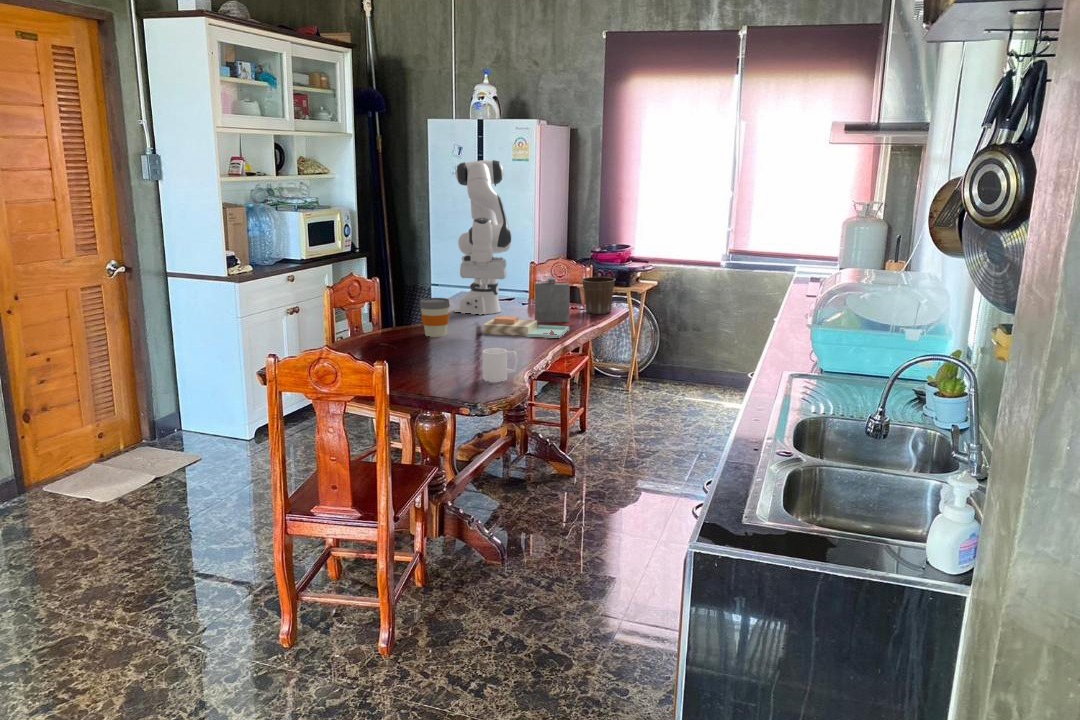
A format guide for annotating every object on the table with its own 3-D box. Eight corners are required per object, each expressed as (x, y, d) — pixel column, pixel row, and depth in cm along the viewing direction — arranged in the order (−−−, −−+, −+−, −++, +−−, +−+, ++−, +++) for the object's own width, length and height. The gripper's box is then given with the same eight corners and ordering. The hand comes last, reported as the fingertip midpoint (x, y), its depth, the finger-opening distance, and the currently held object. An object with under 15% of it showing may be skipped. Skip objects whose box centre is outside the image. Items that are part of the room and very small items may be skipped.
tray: (526, 337, 343) (526, 333, 343) (538, 328, 360) (538, 324, 360) (559, 339, 340) (559, 335, 339) (569, 330, 356) (569, 326, 356)
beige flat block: (483, 333, 350) (483, 324, 349) (493, 327, 363) (493, 318, 362) (528, 336, 345) (528, 327, 344) (537, 329, 358) (537, 320, 357)
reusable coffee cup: (433, 330, 357) (431, 296, 353) (456, 333, 351) (455, 299, 347) (415, 336, 346) (413, 301, 343) (439, 339, 340) (437, 303, 337)
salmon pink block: (494, 323, 352) (494, 318, 352) (498, 320, 358) (498, 315, 357) (514, 324, 350) (513, 319, 349) (518, 321, 355) (518, 316, 355)
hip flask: (569, 321, 375) (570, 277, 370) (568, 323, 371) (568, 279, 366) (535, 320, 378) (535, 277, 373) (534, 322, 374) (533, 278, 369)
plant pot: (586, 316, 386) (587, 282, 382) (577, 309, 401) (577, 277, 397) (619, 314, 390) (620, 281, 386) (608, 308, 405) (609, 276, 401)
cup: (516, 382, 277) (516, 354, 274) (481, 382, 278) (480, 353, 275) (519, 376, 284) (519, 348, 282) (485, 375, 286) (484, 347, 283)
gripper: (508, 256, 350) (508, 288, 353) (463, 255, 355) (464, 286, 358) (503, 258, 344) (504, 290, 347) (458, 257, 349) (459, 289, 352)
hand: (483, 288), depth 353 cm, fingers closed
